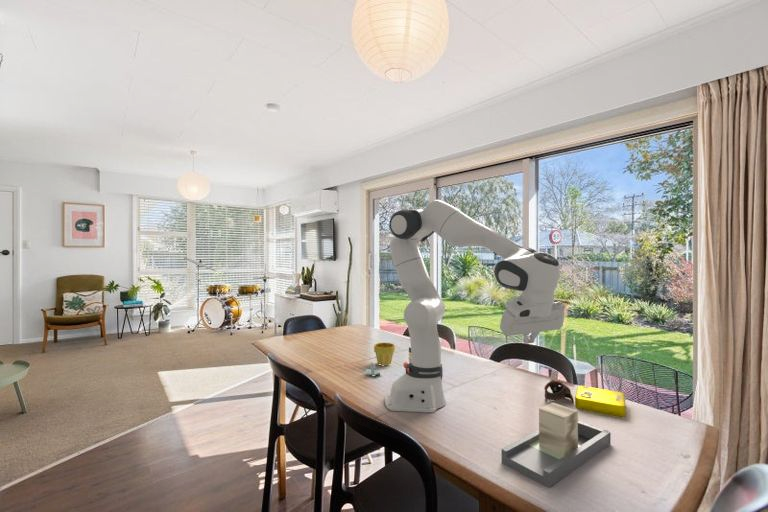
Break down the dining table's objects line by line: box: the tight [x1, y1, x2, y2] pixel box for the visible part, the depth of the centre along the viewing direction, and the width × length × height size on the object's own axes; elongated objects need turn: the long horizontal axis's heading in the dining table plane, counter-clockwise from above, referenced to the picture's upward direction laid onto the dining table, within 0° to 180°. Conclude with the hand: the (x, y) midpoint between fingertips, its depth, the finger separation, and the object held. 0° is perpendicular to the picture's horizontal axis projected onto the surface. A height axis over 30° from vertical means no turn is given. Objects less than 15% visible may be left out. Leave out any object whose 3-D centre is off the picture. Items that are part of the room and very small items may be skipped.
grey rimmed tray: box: [500, 420, 612, 489], centre depth 98 cm, size 32×13×4 cm, turn 126°
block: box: [538, 402, 579, 456], centre depth 97 cm, size 7×7×10 cm
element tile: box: [574, 385, 627, 419], centre depth 129 cm, size 15×15×5 cm
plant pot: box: [373, 342, 396, 366], centre depth 180 cm, size 10×10×10 cm
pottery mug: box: [544, 379, 574, 403], centre depth 134 cm, size 12×10×8 cm
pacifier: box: [365, 362, 381, 376], centre depth 163 cm, size 7×6×6 cm
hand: (528, 342), depth 114 cm, fingers closed
